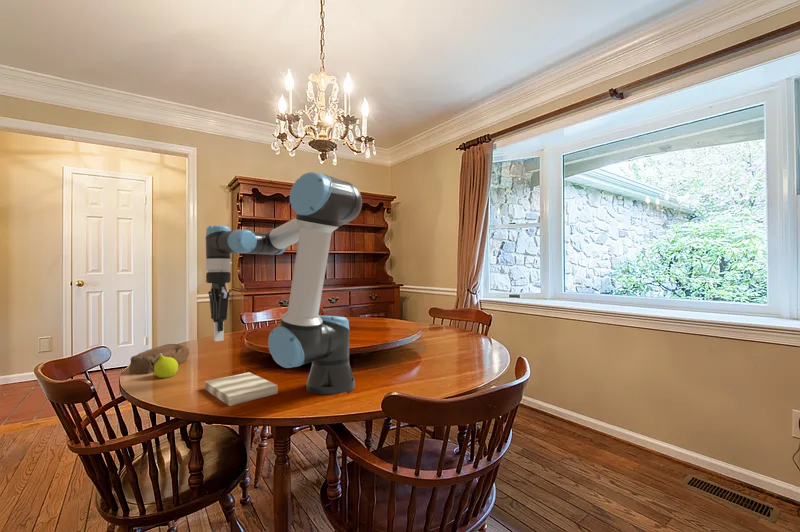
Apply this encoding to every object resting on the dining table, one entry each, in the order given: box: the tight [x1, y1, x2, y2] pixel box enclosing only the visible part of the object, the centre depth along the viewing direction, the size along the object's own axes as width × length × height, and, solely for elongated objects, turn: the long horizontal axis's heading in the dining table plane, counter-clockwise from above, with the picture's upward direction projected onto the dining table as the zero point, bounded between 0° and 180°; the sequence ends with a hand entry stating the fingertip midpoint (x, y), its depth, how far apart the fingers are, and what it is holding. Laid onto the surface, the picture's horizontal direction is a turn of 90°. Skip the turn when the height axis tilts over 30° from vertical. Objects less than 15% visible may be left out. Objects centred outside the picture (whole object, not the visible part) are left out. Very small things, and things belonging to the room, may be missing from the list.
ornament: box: [153, 353, 179, 379], centre depth 127 cm, size 7×7×10 cm
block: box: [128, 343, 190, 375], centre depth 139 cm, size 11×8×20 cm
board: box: [204, 371, 279, 407], centre depth 112 cm, size 20×14×2 cm
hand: (218, 340), depth 125 cm, fingers closed
